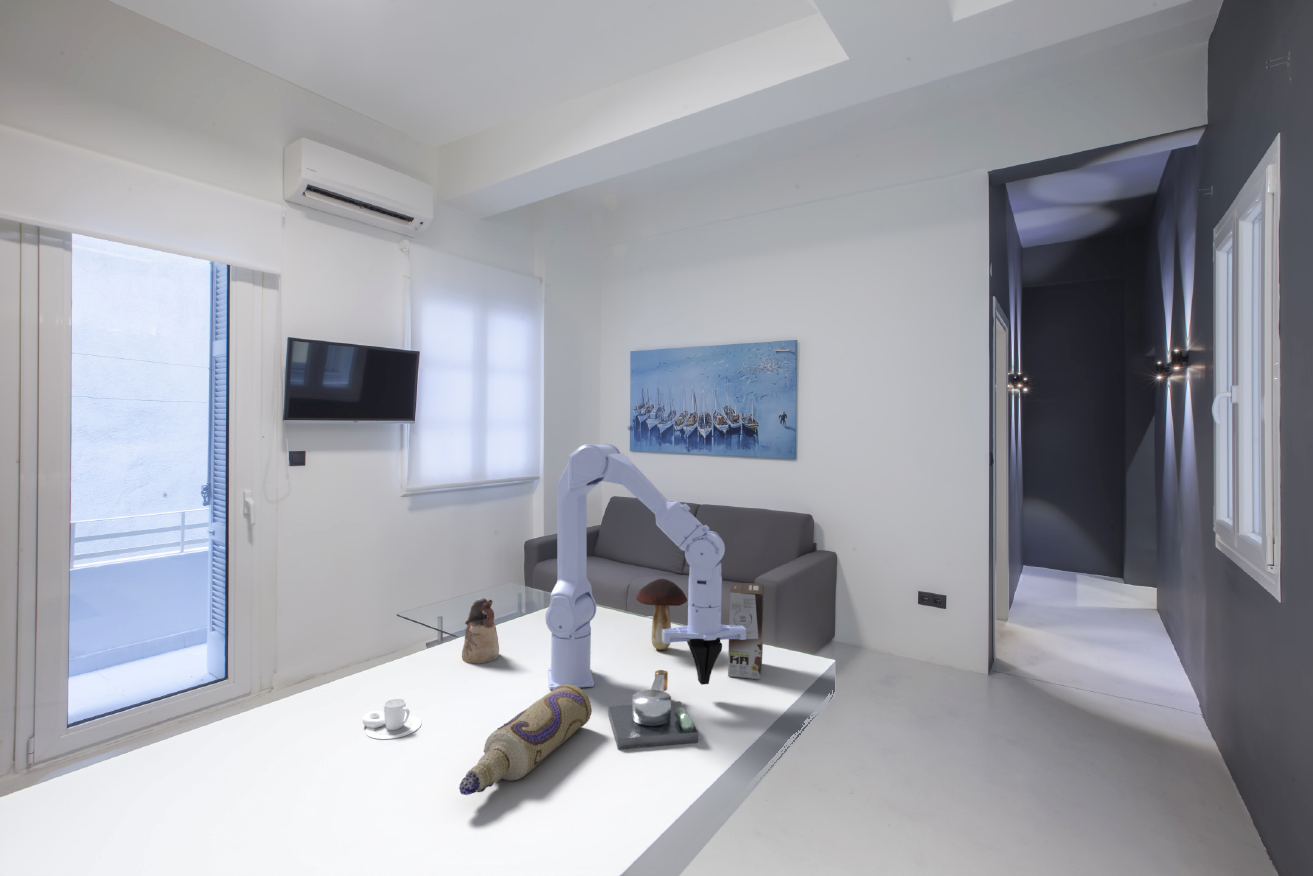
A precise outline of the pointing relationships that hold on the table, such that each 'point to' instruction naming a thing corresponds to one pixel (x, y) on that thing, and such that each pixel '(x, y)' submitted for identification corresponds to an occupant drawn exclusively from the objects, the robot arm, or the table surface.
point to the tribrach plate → (651, 728)
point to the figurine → (480, 634)
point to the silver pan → (653, 702)
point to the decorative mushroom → (661, 606)
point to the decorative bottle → (529, 738)
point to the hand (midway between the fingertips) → (703, 682)
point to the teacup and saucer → (390, 719)
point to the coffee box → (750, 616)
